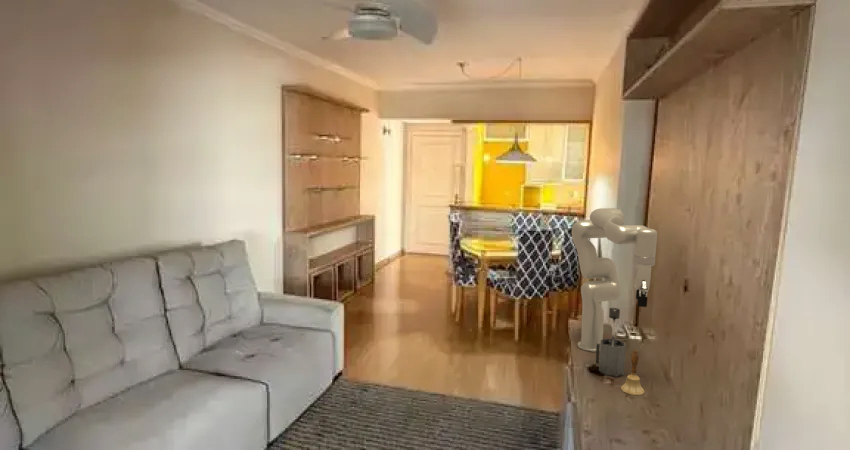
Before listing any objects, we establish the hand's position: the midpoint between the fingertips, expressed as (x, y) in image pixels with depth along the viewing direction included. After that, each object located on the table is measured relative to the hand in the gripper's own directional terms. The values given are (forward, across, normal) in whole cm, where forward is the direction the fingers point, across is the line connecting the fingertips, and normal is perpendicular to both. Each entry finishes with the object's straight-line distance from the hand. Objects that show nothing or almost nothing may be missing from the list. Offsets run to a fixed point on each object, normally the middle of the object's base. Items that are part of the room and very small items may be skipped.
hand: (641, 302), depth 195 cm
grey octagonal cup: (+32, -3, -9) cm, 33 cm away
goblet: (+21, -3, -9) cm, 23 cm away
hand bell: (+31, +12, -2) cm, 34 cm away
